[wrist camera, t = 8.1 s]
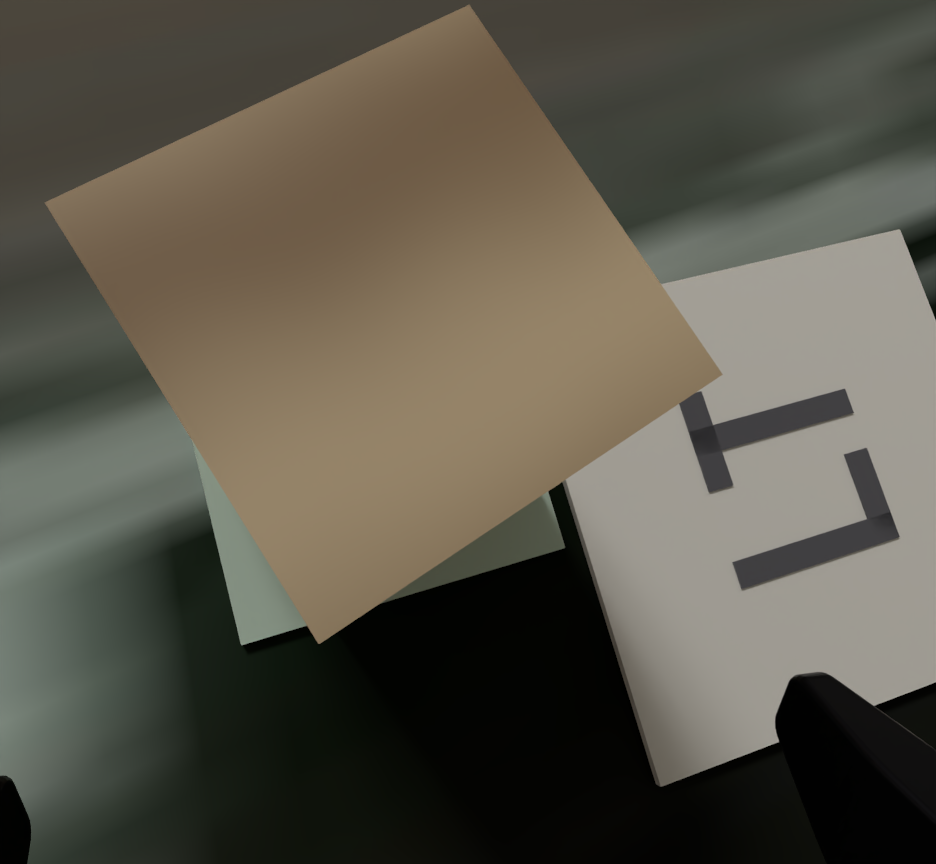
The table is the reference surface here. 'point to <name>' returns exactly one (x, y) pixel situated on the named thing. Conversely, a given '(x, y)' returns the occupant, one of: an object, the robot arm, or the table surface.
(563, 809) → the table surface
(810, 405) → the tile
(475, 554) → the green mat
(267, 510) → the oak block
